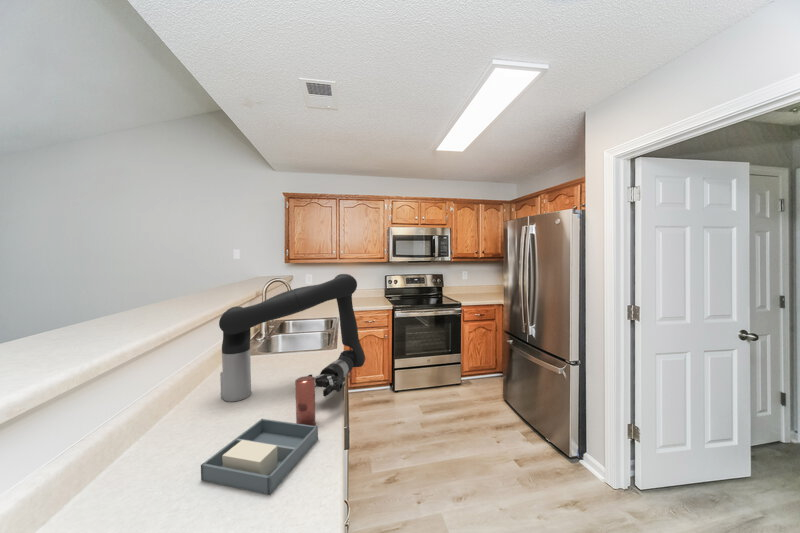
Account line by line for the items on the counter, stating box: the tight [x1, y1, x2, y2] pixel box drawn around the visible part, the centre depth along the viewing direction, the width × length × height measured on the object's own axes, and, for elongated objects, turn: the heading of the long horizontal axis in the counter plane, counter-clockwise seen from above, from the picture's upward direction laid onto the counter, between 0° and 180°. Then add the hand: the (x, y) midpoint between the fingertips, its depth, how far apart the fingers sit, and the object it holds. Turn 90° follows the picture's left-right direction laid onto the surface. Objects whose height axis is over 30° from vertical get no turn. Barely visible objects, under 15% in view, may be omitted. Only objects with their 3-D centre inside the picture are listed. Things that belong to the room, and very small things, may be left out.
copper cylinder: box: [294, 375, 316, 426], centre depth 91 cm, size 6×6×14 cm
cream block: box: [222, 440, 278, 476], centre depth 70 cm, size 10×6×5 cm, turn 76°
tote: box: [200, 418, 319, 496], centre depth 75 cm, size 18×20×4 cm
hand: (311, 392), depth 95 cm, fingers open, 8 cm apart
